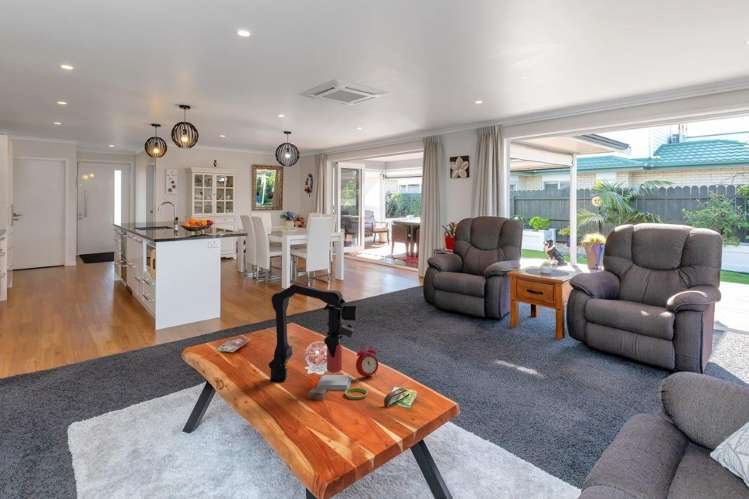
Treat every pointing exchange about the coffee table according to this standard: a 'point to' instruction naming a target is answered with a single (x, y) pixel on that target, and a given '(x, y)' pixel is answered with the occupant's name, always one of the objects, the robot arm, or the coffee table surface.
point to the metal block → (317, 394)
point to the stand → (334, 382)
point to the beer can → (335, 360)
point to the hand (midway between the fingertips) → (334, 355)
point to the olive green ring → (356, 390)
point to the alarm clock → (366, 362)
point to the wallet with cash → (393, 396)
